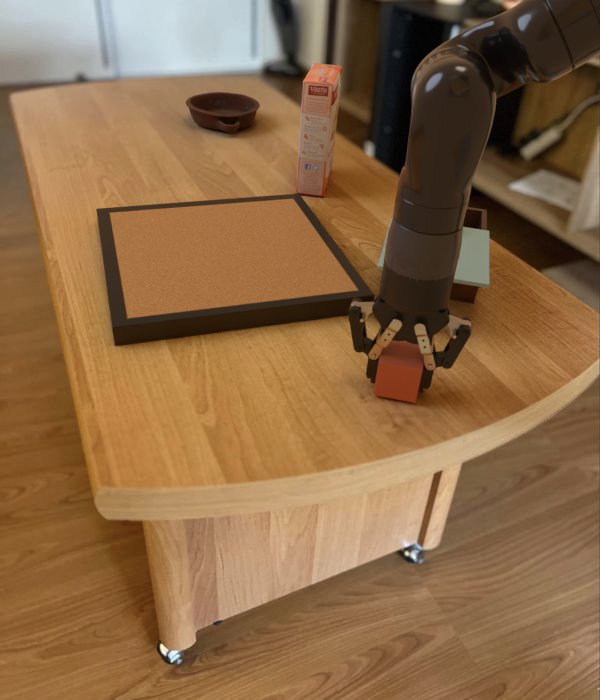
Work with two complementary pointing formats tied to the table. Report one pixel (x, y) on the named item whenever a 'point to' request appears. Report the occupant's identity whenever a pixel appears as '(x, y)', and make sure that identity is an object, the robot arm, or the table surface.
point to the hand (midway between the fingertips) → (397, 383)
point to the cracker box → (318, 128)
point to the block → (399, 371)
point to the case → (477, 221)
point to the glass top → (467, 258)
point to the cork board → (221, 267)
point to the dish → (223, 110)
